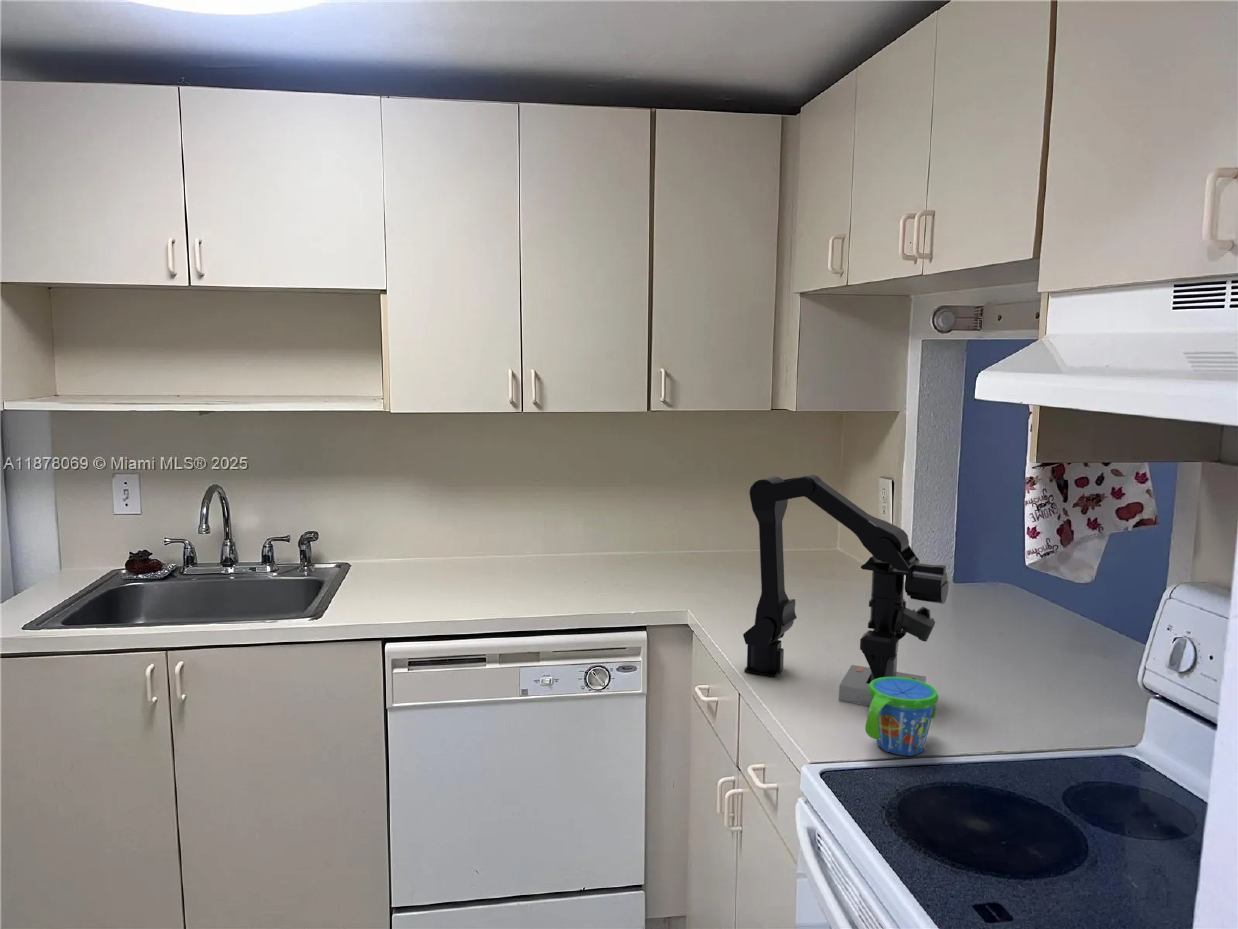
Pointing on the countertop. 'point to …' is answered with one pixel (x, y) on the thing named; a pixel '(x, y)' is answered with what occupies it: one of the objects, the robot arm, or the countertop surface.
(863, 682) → the socket plate
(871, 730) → the snack cup
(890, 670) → the plug
